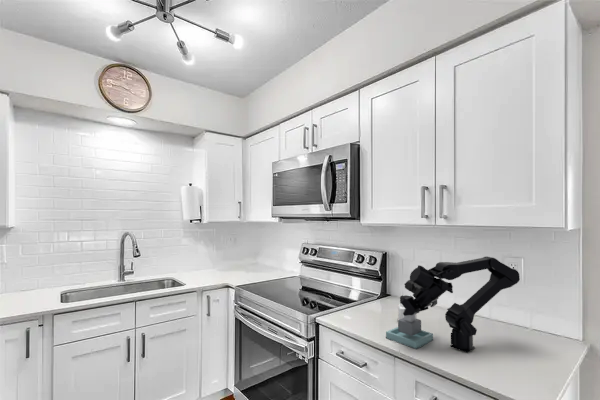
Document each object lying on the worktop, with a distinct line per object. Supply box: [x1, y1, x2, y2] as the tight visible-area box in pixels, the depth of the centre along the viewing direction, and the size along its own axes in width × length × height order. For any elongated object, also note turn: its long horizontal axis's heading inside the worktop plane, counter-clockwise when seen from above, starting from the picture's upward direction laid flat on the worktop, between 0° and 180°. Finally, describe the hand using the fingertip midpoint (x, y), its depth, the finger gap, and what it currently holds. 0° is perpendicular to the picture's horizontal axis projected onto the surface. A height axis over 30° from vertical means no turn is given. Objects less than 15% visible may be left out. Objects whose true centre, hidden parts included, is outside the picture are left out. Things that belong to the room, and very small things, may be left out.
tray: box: [385, 326, 434, 350], centre depth 122 cm, size 13×13×2 cm
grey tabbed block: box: [397, 308, 422, 336], centre depth 122 cm, size 6×7×9 cm
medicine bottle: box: [397, 294, 417, 320], centre depth 141 cm, size 7×7×12 cm
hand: (406, 313), depth 123 cm, fingers closed on grey tabbed block, 3 cm apart
